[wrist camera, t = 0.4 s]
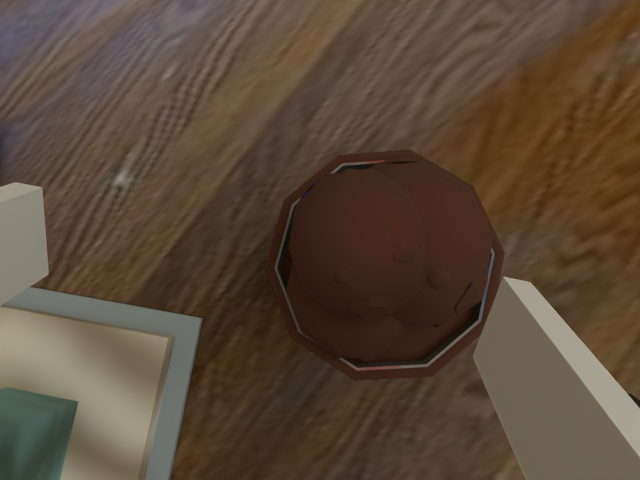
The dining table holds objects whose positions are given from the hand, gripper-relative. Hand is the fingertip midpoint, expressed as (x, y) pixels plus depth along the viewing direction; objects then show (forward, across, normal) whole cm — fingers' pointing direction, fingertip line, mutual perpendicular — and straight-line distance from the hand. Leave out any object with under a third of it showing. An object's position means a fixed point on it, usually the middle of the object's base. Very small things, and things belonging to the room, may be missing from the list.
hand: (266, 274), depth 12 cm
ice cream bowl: (+16, -5, +7) cm, 18 cm away
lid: (+10, +14, +20) cm, 26 cm away
